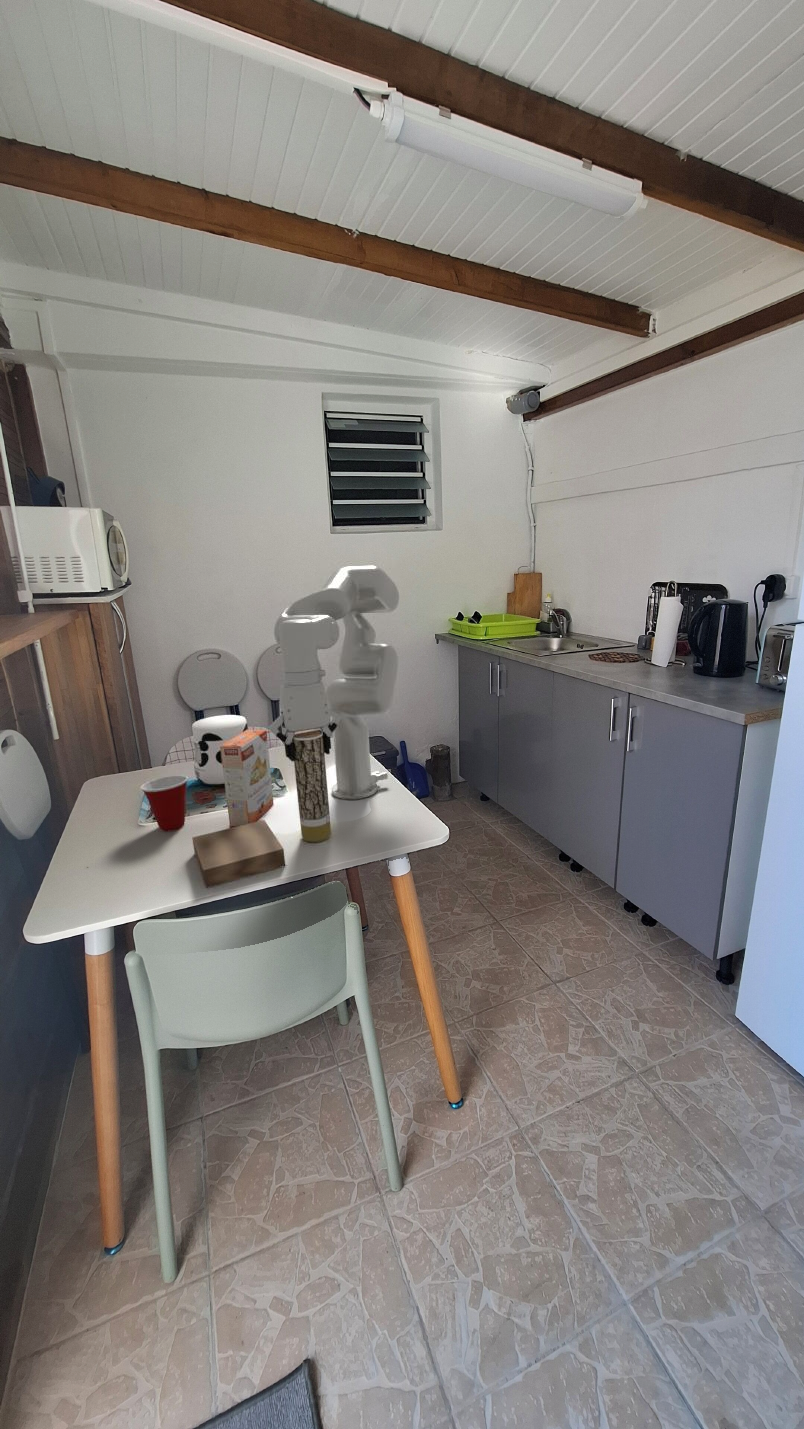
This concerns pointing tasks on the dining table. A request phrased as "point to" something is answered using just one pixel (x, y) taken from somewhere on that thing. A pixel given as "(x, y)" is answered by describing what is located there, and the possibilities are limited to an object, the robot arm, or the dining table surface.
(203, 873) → the walnut base
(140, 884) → the dining table surface
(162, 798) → the plastic cup
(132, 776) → the dining table surface
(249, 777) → the cracker box
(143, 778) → the dining table surface
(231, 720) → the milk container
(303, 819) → the paper tube
